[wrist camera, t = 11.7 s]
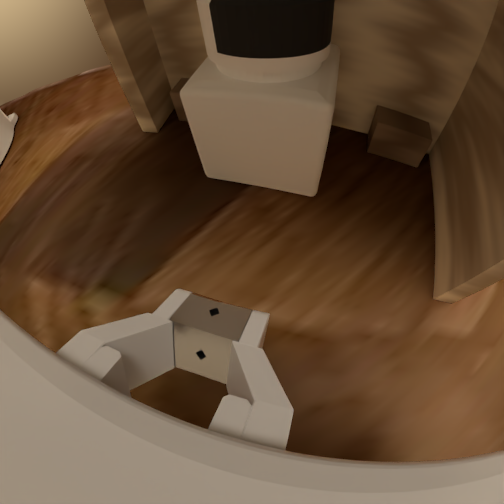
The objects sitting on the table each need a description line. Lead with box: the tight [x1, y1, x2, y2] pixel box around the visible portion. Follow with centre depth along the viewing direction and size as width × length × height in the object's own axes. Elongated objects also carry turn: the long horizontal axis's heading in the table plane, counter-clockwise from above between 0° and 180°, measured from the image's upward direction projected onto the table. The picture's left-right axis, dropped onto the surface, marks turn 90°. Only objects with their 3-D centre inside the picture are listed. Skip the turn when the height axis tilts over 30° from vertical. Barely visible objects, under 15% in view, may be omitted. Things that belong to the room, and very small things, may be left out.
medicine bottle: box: [180, 0, 340, 197], centre depth 13 cm, size 7×7×12 cm
